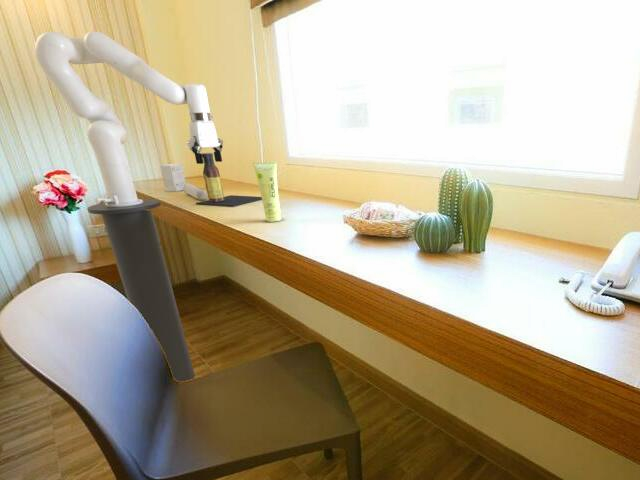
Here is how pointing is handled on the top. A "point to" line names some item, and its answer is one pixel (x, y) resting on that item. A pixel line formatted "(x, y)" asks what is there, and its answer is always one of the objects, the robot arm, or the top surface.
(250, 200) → the mat
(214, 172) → the sauce bottle
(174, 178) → the small box
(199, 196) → the tube
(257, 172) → the tube
